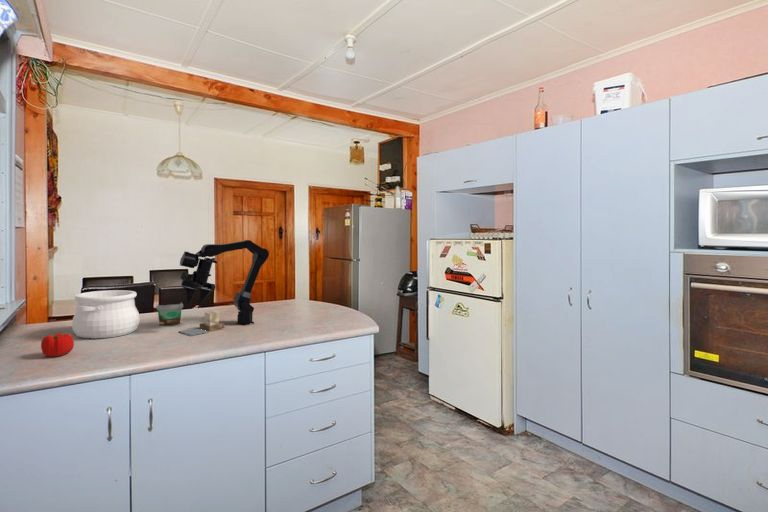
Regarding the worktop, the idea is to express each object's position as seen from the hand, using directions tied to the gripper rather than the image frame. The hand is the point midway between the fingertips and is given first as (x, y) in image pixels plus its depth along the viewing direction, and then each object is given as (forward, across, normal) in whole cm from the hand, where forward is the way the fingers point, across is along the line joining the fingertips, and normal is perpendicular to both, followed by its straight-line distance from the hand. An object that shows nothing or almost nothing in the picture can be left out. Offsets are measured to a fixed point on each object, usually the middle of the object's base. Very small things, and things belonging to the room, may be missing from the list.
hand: (194, 303), depth 186 cm
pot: (+20, +12, -29) cm, 37 cm away
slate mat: (+12, +3, +5) cm, 14 cm away
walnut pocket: (+10, -5, +9) cm, 14 cm away
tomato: (+25, +42, -20) cm, 53 cm away
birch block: (+10, -5, +9) cm, 15 cm away
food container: (+14, -9, -13) cm, 21 cm away
